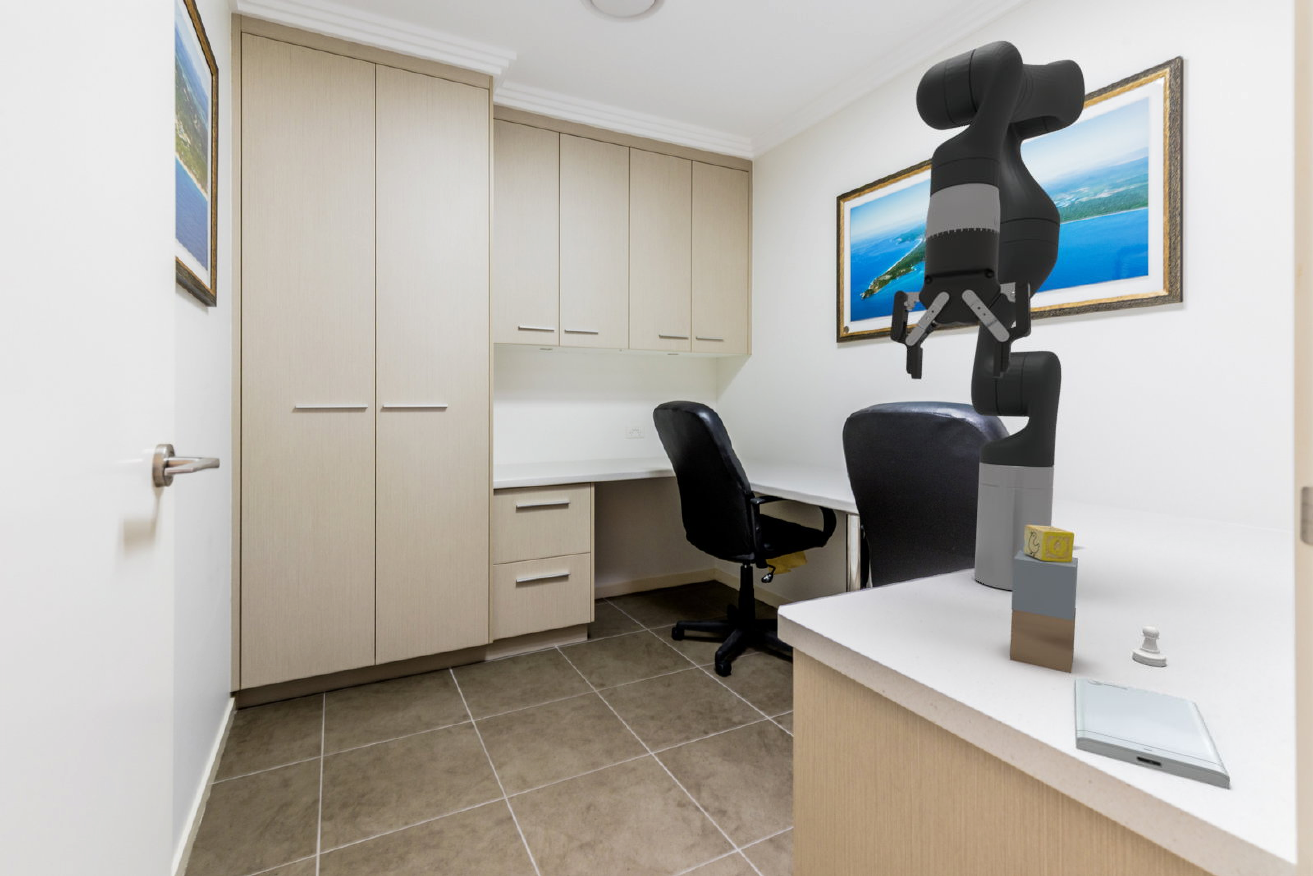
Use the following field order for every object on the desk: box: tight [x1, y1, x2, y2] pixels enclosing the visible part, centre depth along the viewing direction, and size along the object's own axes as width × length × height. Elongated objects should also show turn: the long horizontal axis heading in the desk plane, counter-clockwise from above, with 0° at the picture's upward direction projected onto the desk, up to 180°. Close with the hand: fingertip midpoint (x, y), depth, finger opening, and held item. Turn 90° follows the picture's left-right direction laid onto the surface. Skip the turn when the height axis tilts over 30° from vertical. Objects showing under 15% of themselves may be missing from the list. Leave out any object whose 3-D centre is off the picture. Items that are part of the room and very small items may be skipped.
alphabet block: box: [1023, 525, 1075, 562], centre depth 60 cm, size 3×3×3 cm
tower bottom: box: [1009, 607, 1077, 674], centre depth 60 cm, size 5×5×5 cm
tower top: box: [1011, 550, 1079, 620], centre depth 60 cm, size 5×5×5 cm
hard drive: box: [1073, 676, 1231, 790], centre depth 47 cm, size 2×8×12 cm
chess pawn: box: [1132, 625, 1167, 667], centre depth 60 cm, size 3×3×4 cm
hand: (955, 378), depth 70 cm, fingers open, 8 cm apart
